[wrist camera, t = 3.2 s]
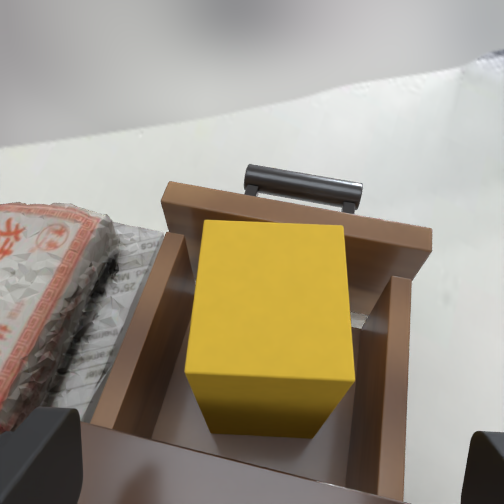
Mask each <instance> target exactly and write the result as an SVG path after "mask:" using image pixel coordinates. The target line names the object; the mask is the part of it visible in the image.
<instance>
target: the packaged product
mask: <svg viewBox="0 0 504 504" xmlns="http://www.w3.org/2000/svg"><path fill="white" fill-rule="evenodd" d="M163 239H164V232H160V231H155V230H150V229H146V228H141V227H135V226H128V225H124V224H120V223H114V222H112V220H111V219H110V217H109V216H108V215H107V214H106V215H102V214H99V213H97V212H93V211H89V210H86V209H83V208H80V207H77V206H75V205H73V204H64V203H53V204H51V205H46V204H30V205H27V204H25V203H24V204H23V203H21V202H15V203H8V204H0V434H2V433H4V432H5V431H13V432H14V431H15V430H16V429H17V428H18V427H19V426H20V424H21V423H22V422H23V421H24V420H25V419H26V418H27V417H28V416H29V414H30V413H31V412H32V411H33V410H34V409H35V408H37V407H39V406H41V407H59V408H76V409H77V410H78V412H79V415H80V421H82V422H86V423H90V422H91V419H92V417H93V414H94V412H95V409H96V407H97V404H98V402H99V399H100V397H101V394H102V392H103V389H104V387H105V384H106V382H107V379H108V377H109V374H110V372H111V369H112V367H113V364H114V362H115V359H116V357H117V354H118V352H119V349H120V347H121V344H122V342H123V339H124V337H125V334H126V332H127V329H128V327H129V324H130V322H131V319H132V317H133V314H134V312H135V309H136V307H137V304H138V302H139V299H140V297H141V294H142V292H143V289H144V287H145V284H146V282H147V279H148V277H149V274H150V272H151V269H152V267H153V264H154V262H155V259H156V257H157V254H158V252H159V249H160V247H161V244H162V242H163Z"/></svg>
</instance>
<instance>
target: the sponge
mask: <svg viewBox="0 0 504 504" xmlns="http://www.w3.org/2000/svg"><path fill="white" fill-rule="evenodd" d="M184 372H185V375H186V377H187V379H188V382H189V384H190V386H191V389H192V391H193V394H194V396H195V398H196V401H197V403H198V405H199V408H200V410H201V412H202V415H203V417H204V419H205V422H206V424H207V426H208V429H209V431H210V433H213V434H232V435H251V436H270V437H290V438H309V439H312V438H313V437H314V436H315V435H316V433H317V432H318V431H319V429H320V428H321V427H322V425H323V424H324V423H325V421H326V420H327V418H328V417H329V416H330V414H331V413H332V412H333V410H334V409H335V408H336V406H337V405H338V403H339V402H340V401H341V399H342V398H343V397H344V395H345V394H346V393H347V391H348V390H349V388H350V387H351V386H352V384H353V383H354V382H355V370H354V357H353V344H352V331H351V317H350V304H349V291H348V278H347V265H346V252H345V239H344V227H343V226H342V225H318V224H294V223H270V222H246V221H223V220H204V224H203V232H202V239H201V247H200V255H199V262H198V270H197V278H196V285H195V293H194V301H193V308H192V316H191V324H190V331H189V339H188V347H187V354H186V362H185V370H184Z"/></svg>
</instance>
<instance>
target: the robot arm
mask: <svg viewBox="0 0 504 504" xmlns="http://www.w3.org/2000/svg"><path fill="white" fill-rule="evenodd" d="M82 483H83V458H82V441H81V423H80V415H79V412H78V410H77V409H76V408H59V407H41V406H39V407H37V408H35V409H34V410H33V411H32V412H31V413H30V414H29V416H28V417H27V418H26V419H25V420H24V421H23V422H22V423H21V424H20V426H19V427H18V428H17V429H16V430H15V431H14V432H13V431H5V432H4V433H2V434H0V504H77V503H78V500H79V497H80V493H81V489H82ZM461 504H504V432H486V431H477V432H475V433H474V434H473V436H472V438H471V441H470V447H469V453H468V458H467V464H466V470H465V476H464V482H463V487H462V493H461Z"/></svg>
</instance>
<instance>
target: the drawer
mask: <svg viewBox="0 0 504 504" xmlns="http://www.w3.org/2000/svg"><path fill="white" fill-rule="evenodd" d="M362 189H363V184H362V183H357V182H351V181H346V180H340V179H334V178H328V177H322V176H316V175H311V174H305V173H299V172H293V171H287V170H282V169H276V168H270V167H264V166H258V165H252V164H249V165H248V167H247V169H246V173H245V179H244V190H246V191H245V194H238V193H233V192H227V191H222V190H216V189H210V188H205V187H199V186H194V185H188V184H183V183H177V182H172V181H169V182H168V185H167V187H166V189H165V192H164V194H163V196H162V199H161V204H162V208H163V212H164V215H165V219H166V223H167V226H168V230H169V232H166V234H165V237H164V239H163V242H162V244H161V247H160V249H159V252H158V254H157V257H156V259H155V262H154V264H153V267H152V269H151V272H150V274H149V277H148V279H147V282H146V284H145V287H144V289H143V292H142V294H141V297H140V299H139V302H138V304H137V307H136V309H135V312H134V314H133V317H132V319H131V322H130V324H129V327H128V329H127V332H126V334H125V337H124V339H123V342H122V344H121V347H120V349H119V352H118V354H117V357H116V359H115V362H114V364H113V367H112V369H111V372H110V374H109V377H108V379H107V382H106V384H105V387H104V389H103V392H102V394H101V397H100V399H99V402H98V404H97V407H96V409H95V412H94V414H93V417H92V419H91V422H90V424H94V425H98V426H102V427H106V428H110V429H114V430H118V431H122V432H126V433H130V434H134V435H138V436H142V437H146V438H150V439H154V440H158V441H162V442H166V443H170V444H174V445H178V446H182V447H186V448H190V449H194V450H198V451H202V452H206V453H210V454H214V455H218V456H222V457H226V458H230V459H234V460H238V461H242V462H246V463H250V464H254V465H258V466H262V467H266V468H270V469H274V470H278V471H282V472H286V473H290V474H294V475H298V476H302V477H306V478H310V479H314V480H318V481H322V482H326V483H330V484H334V485H338V486H342V487H346V488H350V489H354V490H358V491H362V492H366V493H370V494H374V495H378V496H382V497H386V498H390V499H394V500H398V501H402V502H403V496H404V470H405V444H406V417H407V391H408V365H409V339H410V312H411V286H412V280H413V279H414V277H415V276H416V274H417V273H418V271H419V270H420V268H421V267H422V265H423V264H424V262H425V261H426V259H427V258H428V256H429V255H430V253H431V252H432V229H431V228H427V227H421V226H416V225H410V224H405V223H399V222H394V221H388V220H383V219H377V218H371V217H366V216H360V215H355V214H354V212H355V210H357V209H358V207H359V204H360V200H361V195H362ZM258 193H263V194H269V195H274V196H280V197H285V198H291V199H297V200H302V201H308V202H313V203H319V204H324V205H330V206H336V207H341V208H342V210H341V212H338V211H333V210H327V209H321V208H316V207H310V206H305V205H299V204H294V203H288V202H283V201H277V200H272V199H266V198H260V197H257V196H258ZM204 220H223V221H246V222H270V223H294V224H318V225H342V226H343V227H344V239H345V252H346V265H347V278H348V291H349V304H350V311H351V312H356V313H360V314H365V315H369V316H368V318H367V320H366V321H365V323H364V325H363V327H362V328H361V329H359V328H354V327H351V331H352V344H353V357H354V370H355V382H354V383H353V384H352V386H351V387H350V388H349V390H348V391H347V393H346V394H345V395H344V397H343V398H342V399H341V401H340V402H339V403H338V405H337V406H336V408H335V409H334V410H333V412H332V413H331V414H330V416H329V417H328V418H327V420H326V421H325V423H324V424H323V425H322V427H321V428H320V429H319V431H318V432H317V433H316V435H315V436H314V437H313V438H312V439H309V438H290V437H270V436H251V435H232V434H213V433H210V431H209V429H208V426H207V424H206V422H205V419H204V417H203V415H202V412H201V410H200V408H199V405H198V403H197V401H196V398H195V396H194V394H193V391H192V389H191V386H190V384H189V382H188V379H187V377H186V375H185V372H184V370H185V362H186V354H187V347H188V339H189V331H190V324H191V316H192V308H193V301H194V293H195V280H196V278H197V270H198V262H199V255H200V247H201V239H202V232H203V224H204ZM194 279H195V280H194Z"/></svg>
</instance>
